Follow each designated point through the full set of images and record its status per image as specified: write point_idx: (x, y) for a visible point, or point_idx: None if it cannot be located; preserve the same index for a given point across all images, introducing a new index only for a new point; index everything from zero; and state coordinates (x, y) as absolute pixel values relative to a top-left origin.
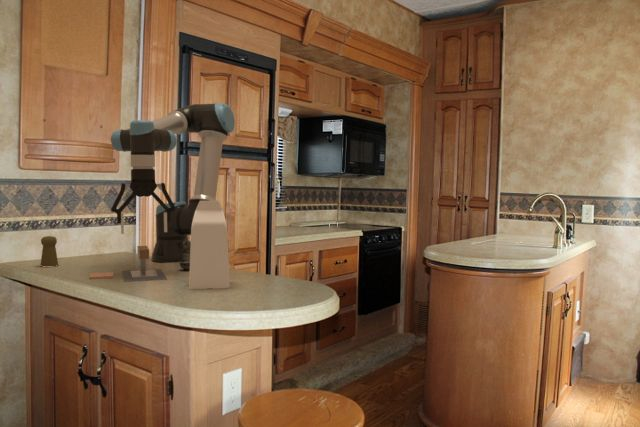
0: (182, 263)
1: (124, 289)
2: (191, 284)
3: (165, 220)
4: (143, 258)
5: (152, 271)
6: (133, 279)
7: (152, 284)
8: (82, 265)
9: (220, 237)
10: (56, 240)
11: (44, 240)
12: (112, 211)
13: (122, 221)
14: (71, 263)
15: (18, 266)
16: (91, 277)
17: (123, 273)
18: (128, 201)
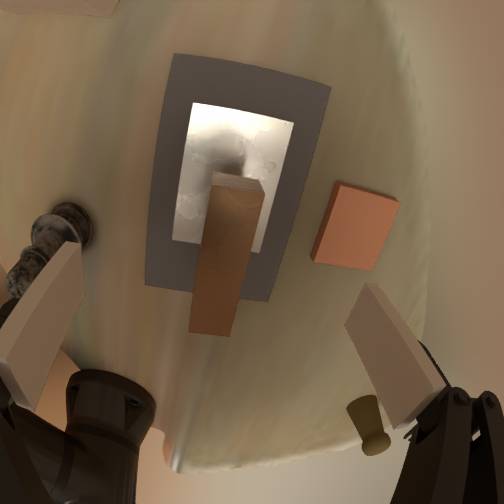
0: (71, 226)
1: (352, 2)
2: None
3: (33, 298)
4: (240, 176)
5: (189, 203)
6: (289, 113)
7: (245, 23)
8: (311, 401)
9: None
10: (366, 446)
11: (389, 439)
12: (487, 392)
13: (410, 340)
14: (318, 418)
15: None
16: (395, 200)
17: (280, 252)
18: (445, 500)
